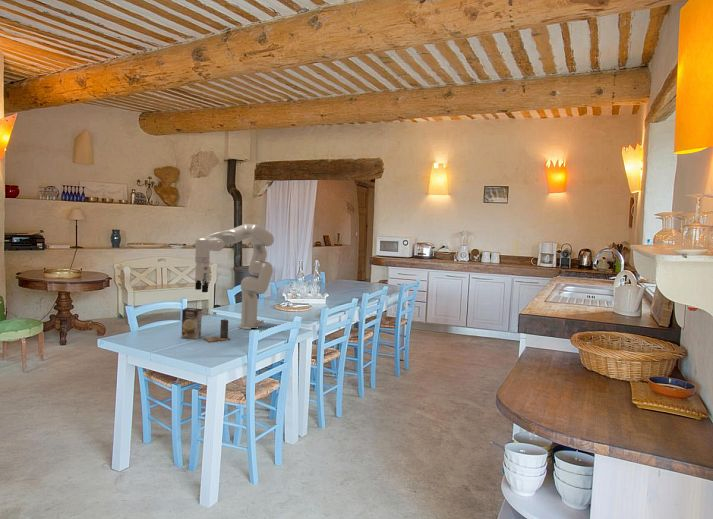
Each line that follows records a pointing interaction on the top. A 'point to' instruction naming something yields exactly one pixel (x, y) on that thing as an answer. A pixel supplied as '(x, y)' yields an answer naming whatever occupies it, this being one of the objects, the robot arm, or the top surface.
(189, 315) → the coffee box
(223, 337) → the brown l-shaped piece
